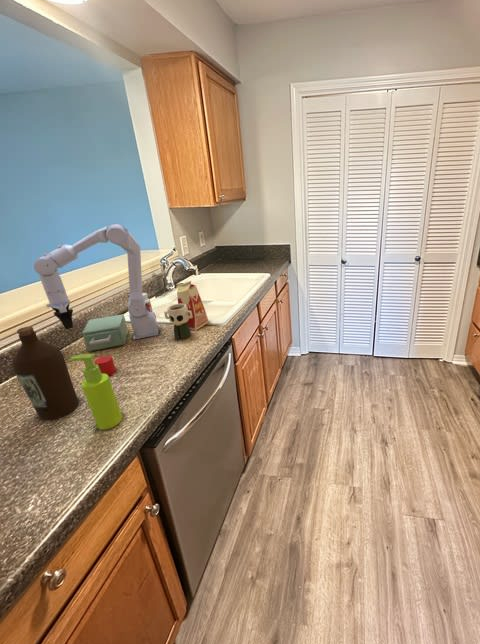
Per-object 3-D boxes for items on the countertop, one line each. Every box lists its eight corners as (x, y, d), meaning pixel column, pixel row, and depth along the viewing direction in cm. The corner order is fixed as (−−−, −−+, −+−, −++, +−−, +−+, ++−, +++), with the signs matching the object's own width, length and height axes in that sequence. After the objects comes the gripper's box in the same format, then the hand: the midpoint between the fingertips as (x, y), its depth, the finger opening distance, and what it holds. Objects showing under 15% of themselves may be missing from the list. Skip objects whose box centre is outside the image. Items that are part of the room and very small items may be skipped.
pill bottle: (155, 317, 151) (149, 294, 146) (140, 321, 148) (134, 297, 143) (152, 313, 155) (146, 291, 151) (138, 316, 152) (132, 294, 148)
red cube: (117, 366, 111) (113, 354, 109) (115, 374, 106) (110, 361, 104) (100, 370, 109) (95, 357, 107) (97, 378, 105) (92, 364, 103)
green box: (124, 344, 126) (119, 326, 123) (88, 351, 122) (81, 333, 119) (128, 331, 138) (123, 314, 135) (95, 336, 134) (89, 319, 131)
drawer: (120, 350, 120) (116, 335, 118) (85, 356, 117) (80, 342, 114) (125, 331, 135) (121, 318, 133) (94, 337, 131) (90, 324, 129)
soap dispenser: (99, 415, 87) (75, 351, 79) (126, 413, 88) (104, 348, 80) (88, 431, 82) (61, 363, 74) (116, 428, 83) (92, 360, 74)
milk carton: (209, 321, 143) (201, 278, 135) (196, 330, 135) (187, 284, 127) (191, 319, 146) (183, 277, 138) (178, 328, 138) (168, 283, 130)
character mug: (166, 341, 127) (159, 310, 122) (173, 333, 134) (166, 303, 129) (193, 340, 127) (187, 309, 122) (199, 332, 133) (193, 303, 128)
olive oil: (65, 394, 97) (33, 318, 87) (89, 401, 94) (59, 322, 84) (27, 417, 88) (-13, 335, 78) (52, 425, 85) (14, 341, 75)
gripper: (40, 289, 118) (53, 322, 123) (43, 298, 108) (57, 334, 113) (63, 284, 122) (74, 317, 127) (68, 293, 112) (80, 328, 117)
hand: (68, 325), depth 121 cm, fingers open, 7 cm apart
